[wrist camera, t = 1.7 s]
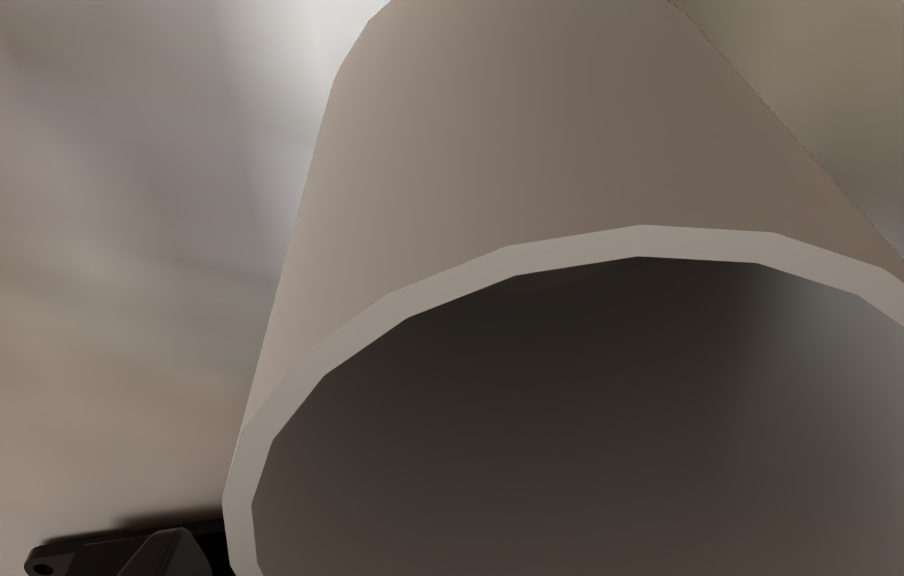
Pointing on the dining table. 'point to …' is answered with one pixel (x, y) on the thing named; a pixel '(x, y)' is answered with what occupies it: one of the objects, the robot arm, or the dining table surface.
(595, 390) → the cup
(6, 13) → the dining table surface
